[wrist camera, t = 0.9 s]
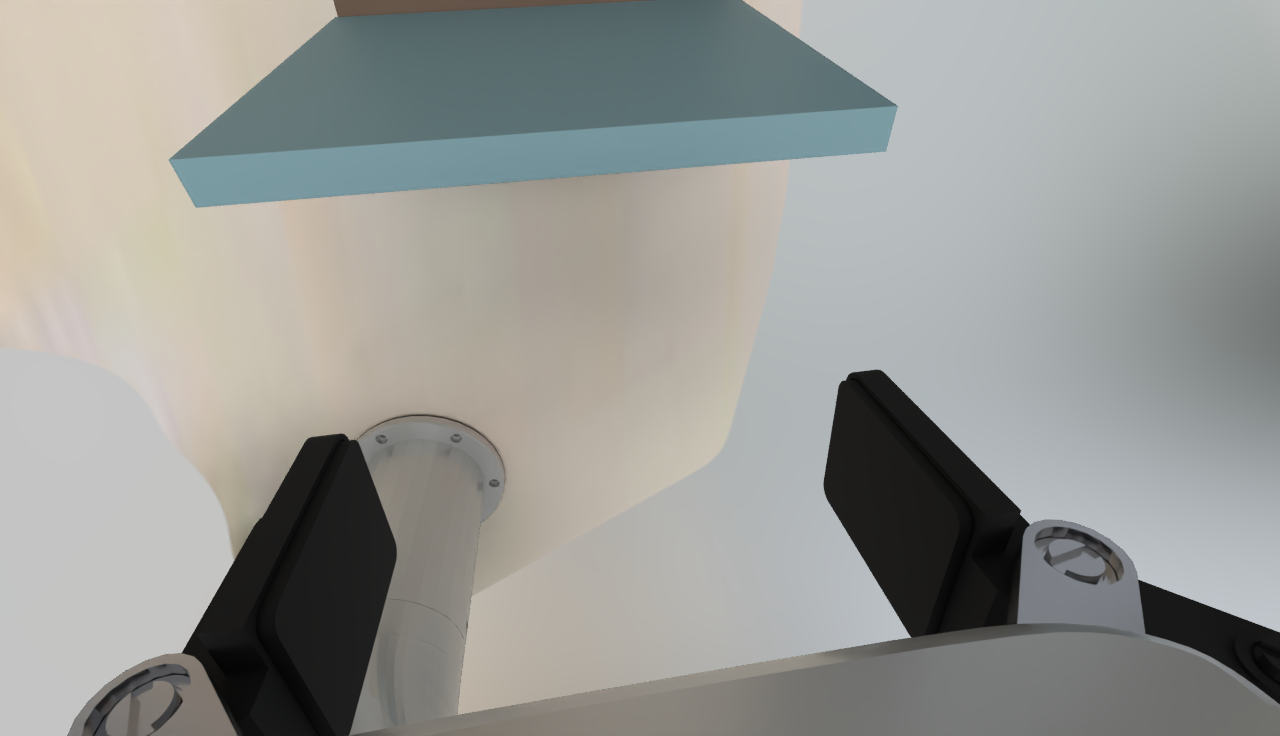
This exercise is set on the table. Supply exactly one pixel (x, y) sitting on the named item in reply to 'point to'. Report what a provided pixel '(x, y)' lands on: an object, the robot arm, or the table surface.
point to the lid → (529, 101)
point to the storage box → (443, 5)
